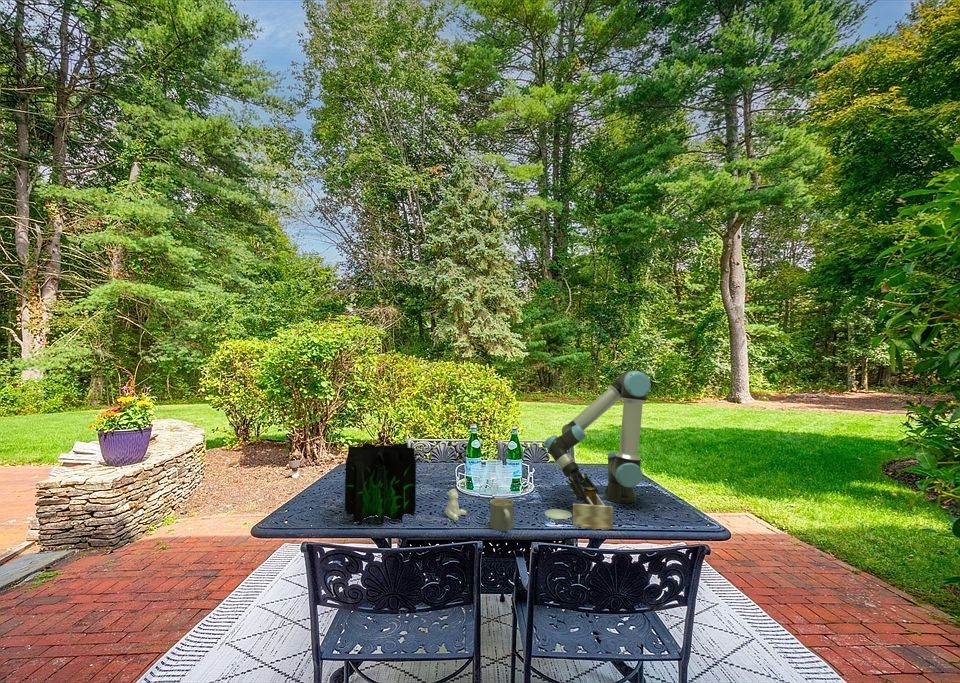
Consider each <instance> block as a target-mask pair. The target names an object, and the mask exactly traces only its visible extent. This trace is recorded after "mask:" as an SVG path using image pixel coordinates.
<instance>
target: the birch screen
mask: <svg viewBox="0 0 960 683" xmlns="http://www.w3.org/2000/svg"><path fill="white" fill-rule="evenodd" d="M613 511H614V508H613V506H612V505H605V506H602V505H588V504H583V503H572V527H573V526H578V527H581V528H580V529H584V528H592V529H591V530H596V529H601V530H600V531H609V529H613V530H614V519H613V518H614V512H613ZM578 527H577V528H578Z"/></svg>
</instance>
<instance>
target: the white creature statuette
mask: <svg viewBox="0 0 960 683" xmlns="http://www.w3.org/2000/svg"><path fill="white" fill-rule="evenodd" d="M446 495H448V498H449V499H448V502H447V506H446V507H445V509H444V511H445V512H444V513H445V516H446V517H447V516H448V517H447V518H449V519H451V520H452V519H453V521H454V520H455V521H454V522H457V521H458V520H459V518H460V517H461V516H460V515H466V516H467V510H465V509H463V508H462V509H460V507H459V501H458V497H459V493H458V491H457V489H456V488H452V489H450V490H449V491H447V492H446ZM458 516H460V517H458ZM456 520H457V521H456Z"/></svg>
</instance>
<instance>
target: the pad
mask: <svg viewBox="0 0 960 683" xmlns="http://www.w3.org/2000/svg"><path fill="white" fill-rule="evenodd" d="M544 516H545V517H547V518H549V519H552V520H557V519H564V520H568V518H569V519H571V518H573V513H572V512H571V511H568V510H566V509H565V510H564V509H558V508H554V509H553V508H552V509H547V510H545V511H544ZM570 517H571V518H570Z"/></svg>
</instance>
